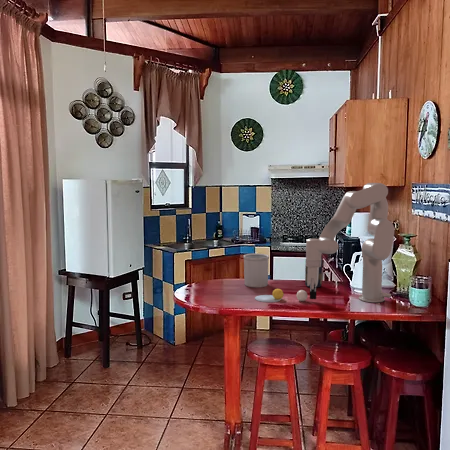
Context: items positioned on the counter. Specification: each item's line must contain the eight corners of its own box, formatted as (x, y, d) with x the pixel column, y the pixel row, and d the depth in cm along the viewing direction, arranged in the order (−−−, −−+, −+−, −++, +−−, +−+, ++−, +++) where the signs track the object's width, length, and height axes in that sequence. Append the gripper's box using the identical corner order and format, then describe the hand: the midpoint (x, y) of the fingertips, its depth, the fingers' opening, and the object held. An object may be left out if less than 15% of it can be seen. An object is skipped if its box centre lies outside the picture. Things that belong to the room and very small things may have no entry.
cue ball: (299, 287, 233) (295, 297, 234) (297, 289, 228) (294, 299, 229) (309, 291, 232) (305, 301, 233) (308, 293, 227) (304, 304, 228)
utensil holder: (267, 288, 258) (267, 258, 256) (241, 287, 261) (241, 257, 259) (270, 282, 272) (270, 253, 270) (245, 281, 275) (245, 253, 273)
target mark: (283, 296, 240) (283, 295, 240) (279, 303, 227) (279, 302, 227) (257, 294, 244) (257, 294, 244) (252, 301, 230) (252, 300, 230)
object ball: (277, 285, 236) (271, 293, 237) (276, 287, 231) (269, 295, 232) (286, 292, 235) (279, 300, 237) (284, 295, 230) (277, 302, 231)
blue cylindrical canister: (301, 285, 264) (302, 255, 262) (315, 283, 268) (315, 253, 266) (311, 289, 255) (312, 257, 254) (325, 287, 259) (325, 256, 257)
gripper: (307, 260, 236) (306, 294, 237) (304, 265, 221) (304, 302, 223) (321, 260, 234) (321, 295, 236) (320, 266, 219) (319, 303, 221)
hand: (313, 298), depth 229 cm, fingers closed
